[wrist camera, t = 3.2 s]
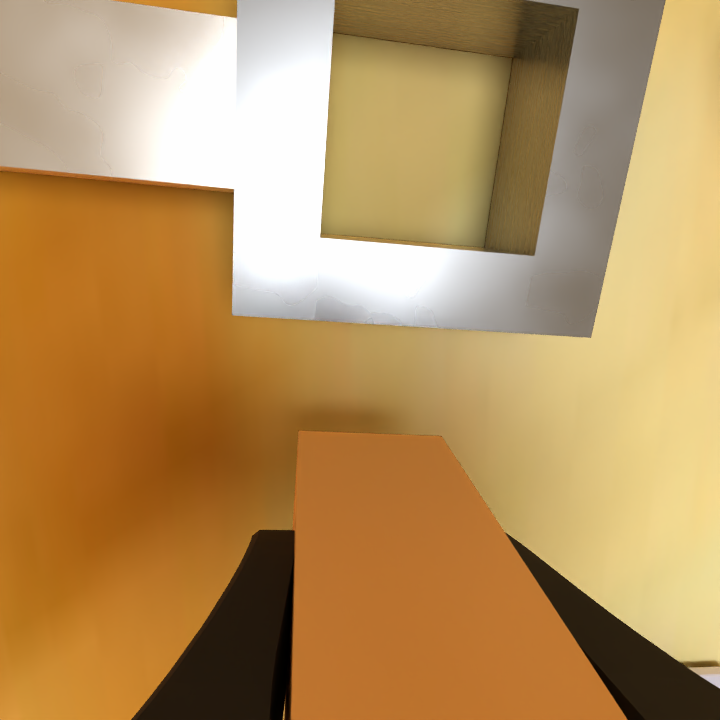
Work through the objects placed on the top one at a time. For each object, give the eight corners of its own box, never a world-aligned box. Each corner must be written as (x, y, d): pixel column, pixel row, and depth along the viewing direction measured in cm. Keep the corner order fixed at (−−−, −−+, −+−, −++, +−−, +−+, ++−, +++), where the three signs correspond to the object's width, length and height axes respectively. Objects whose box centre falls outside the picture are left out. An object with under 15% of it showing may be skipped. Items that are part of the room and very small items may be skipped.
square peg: (441, 436, 11) (755, 912, 3) (423, 558, 12) (643, 1167, 4) (298, 430, 11) (285, 959, 3) (291, 557, 11) (263, 1232, 4)
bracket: (591, -12, 12) (684, -85, 9) (531, 312, 14) (591, 337, 11) (-98, -127, 10) (-261, -267, 7) (-44, 273, 12) (-152, 291, 9)
